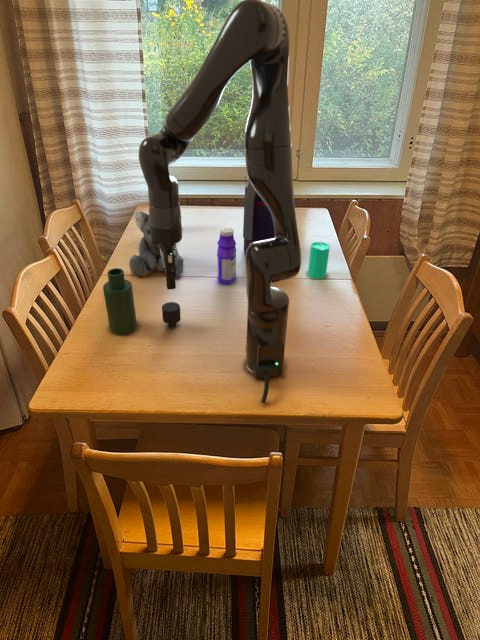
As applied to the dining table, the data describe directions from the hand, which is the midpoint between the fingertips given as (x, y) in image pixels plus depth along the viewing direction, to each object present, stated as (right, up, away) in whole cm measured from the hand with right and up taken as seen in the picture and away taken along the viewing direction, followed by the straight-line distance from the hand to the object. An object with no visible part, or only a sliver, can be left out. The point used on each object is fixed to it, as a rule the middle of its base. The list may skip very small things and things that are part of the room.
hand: (169, 280), depth 122 cm
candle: (+44, +5, +34) cm, 55 cm away
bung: (0, -12, +8) cm, 14 cm away
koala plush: (-9, +8, +37) cm, 38 cm away
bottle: (+14, +2, +29) cm, 33 cm away
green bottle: (-13, -12, +6) cm, 19 cm away
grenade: (+25, +13, +45) cm, 53 cm away
